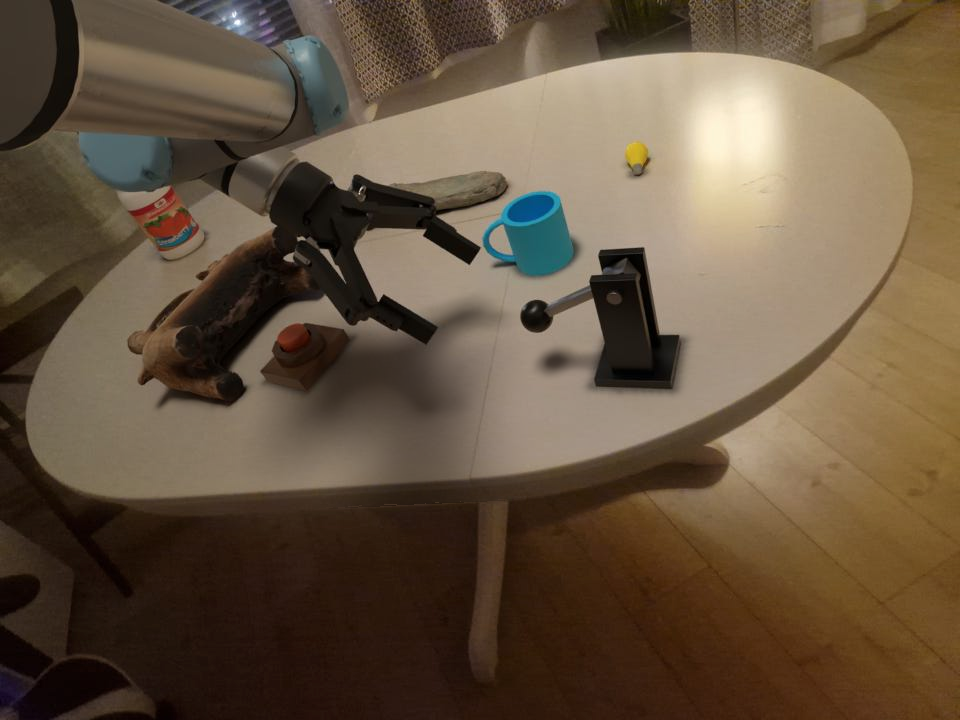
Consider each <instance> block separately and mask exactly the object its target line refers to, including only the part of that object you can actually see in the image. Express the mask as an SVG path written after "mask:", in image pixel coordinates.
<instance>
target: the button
mask: <svg viewBox="0 0 960 720" xmlns="http://www.w3.org/2000/svg"><path fill="white" fill-rule="evenodd" d="M302 324H303V323H299V322H298V323H293V324H290V325H288V326H286V327H285V328H283V329H282V330H281V331H280V332H279V334H278V335H277V338H276V340H277V341H278V343H279V344H280V345H281V347H282V348H283V350H284V351H285V352H288V353H289V352H293V351H296V350H298V349H300V348H301V347H303V346H304V345H305V344H306V343H307V342H308V341H309V340H310V334H309V333H308V331H307V330H306V328H305V327H304V325H302Z"/></svg>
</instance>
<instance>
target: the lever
mask: <svg viewBox="0 0 960 720" xmlns="http://www.w3.org/2000/svg"><path fill="white" fill-rule="evenodd" d="M631 273H637V275H638V280H640V276H641V274H640V273H639V272H638V271H637V269H636V268H635V267H634V266H633V265H632V263H631V262H630V261H629V260H628V258H625V259H623V260H621V261H619V262H617V263H615V264H613V265H611V266H608V267H606V268H604V269H603V272H602V271H601V275H607V274H631ZM590 300H594V299H593V295H592V291H591V287H590V284H589V285H586V286H585V287H583V288H580V289H578V290H576V291H574V292H572V293H569V294H567V295H565V296H563V297H560V298H559V299H556V300H554V301H552V302H550V303H547V302H546V301H544V300H542V299H532V300H529V301H528V302H526V303H525V304H524V305H523V307H522V308H521V311H520V314H519V318H520V322H521V325H522V327H523V328H524V329H525V330H527V331H528V332H530V333H532V334H533V333H534V334H538V333H543V332H545V331H547V330H548V329H549V328H550V327H551V326H552V324H553V321H554V316H556V315H558V314H561V313H563V312H565V311H568V310H571V309H572V308H574V307H577V306H579V305H582V304H583V303H586V302H588V301H590Z"/></svg>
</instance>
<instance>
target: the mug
mask: <svg viewBox="0 0 960 720" xmlns="http://www.w3.org/2000/svg"><path fill="white" fill-rule="evenodd" d="M562 204H563V203H562V200H561V197H560V196H559V195H558V194H557V193H556V192H553V191H550V190H549V191H548V190H539V191H532V192H528V193H525V194H523V195H520V196H518V197H516V198H515V199H513V200H512V201H509V203H507V205H505V207H503V209H502V211H501V212H500V218H497V219H496V220H494V221H493V222H492V223H490V224H489V225H488V227H487V228H486V229H485V230H484V232H483V235H482V238H481V239H482V246H483V248H484V250H485V251H486V253H487V254H488V255H490V256H491V257H492V258H493V259H496V260H500V261H501V262H509V263H515V264H516V267H517V268H518V270H519V272H521V273H522V274H524V275H526V276H533V277H537V276H545V275H549V274H553V273H555V272H557V271H559V270H561V269H563V268H564V267H565V266H566V265H568V264H569V263H570V261H571V260H572V259H573V257H574V254H575V250H574V246H573V241H572V238H571V235H570V230H569V226H568V222H567V219H566V216H565V212H564V208H563V205H562ZM502 225H503V228H504V232H505V234H506V237H507V240H508V243H509V246H510V249H511V252H512V254H506V253H503V252H500V251H498V250H497V249H495V248H494V247H493V246H492V244H491V243H490V237H491V234H492V233H493V232H494V230H495V229H497V228H499V227H500V226H502Z"/></svg>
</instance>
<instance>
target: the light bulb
mask: <svg viewBox="0 0 960 720" xmlns="http://www.w3.org/2000/svg"><path fill="white" fill-rule="evenodd" d="M648 155H649V149H648V147H647V145H645V143H644V142H641V141H633V142H631V143H630V144H629V145H627V147H626V148H625V152H624V158H625V160H626V162H627V163H628V164H629V165H630V168H631V169H632V173H633V175H635V176H639V175H641V174H642V173H643V167H644V164H645V163H646V162H647V160H648Z"/></svg>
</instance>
